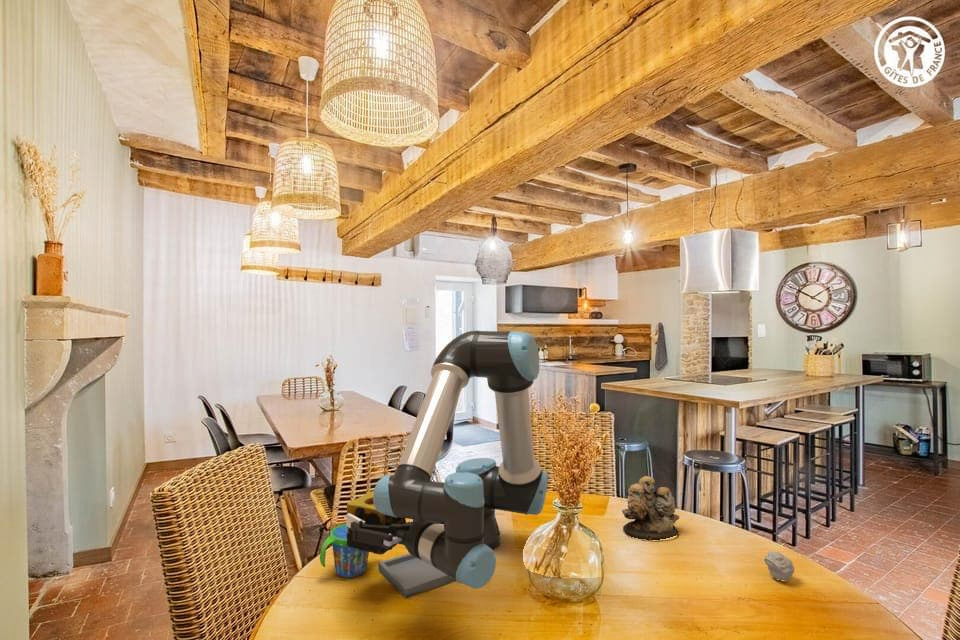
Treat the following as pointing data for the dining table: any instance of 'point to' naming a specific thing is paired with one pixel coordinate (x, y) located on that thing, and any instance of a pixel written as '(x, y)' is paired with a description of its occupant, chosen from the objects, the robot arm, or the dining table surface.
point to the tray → (412, 575)
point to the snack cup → (344, 554)
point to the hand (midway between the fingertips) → (372, 511)
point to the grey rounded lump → (779, 566)
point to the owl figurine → (650, 511)
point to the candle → (369, 521)
